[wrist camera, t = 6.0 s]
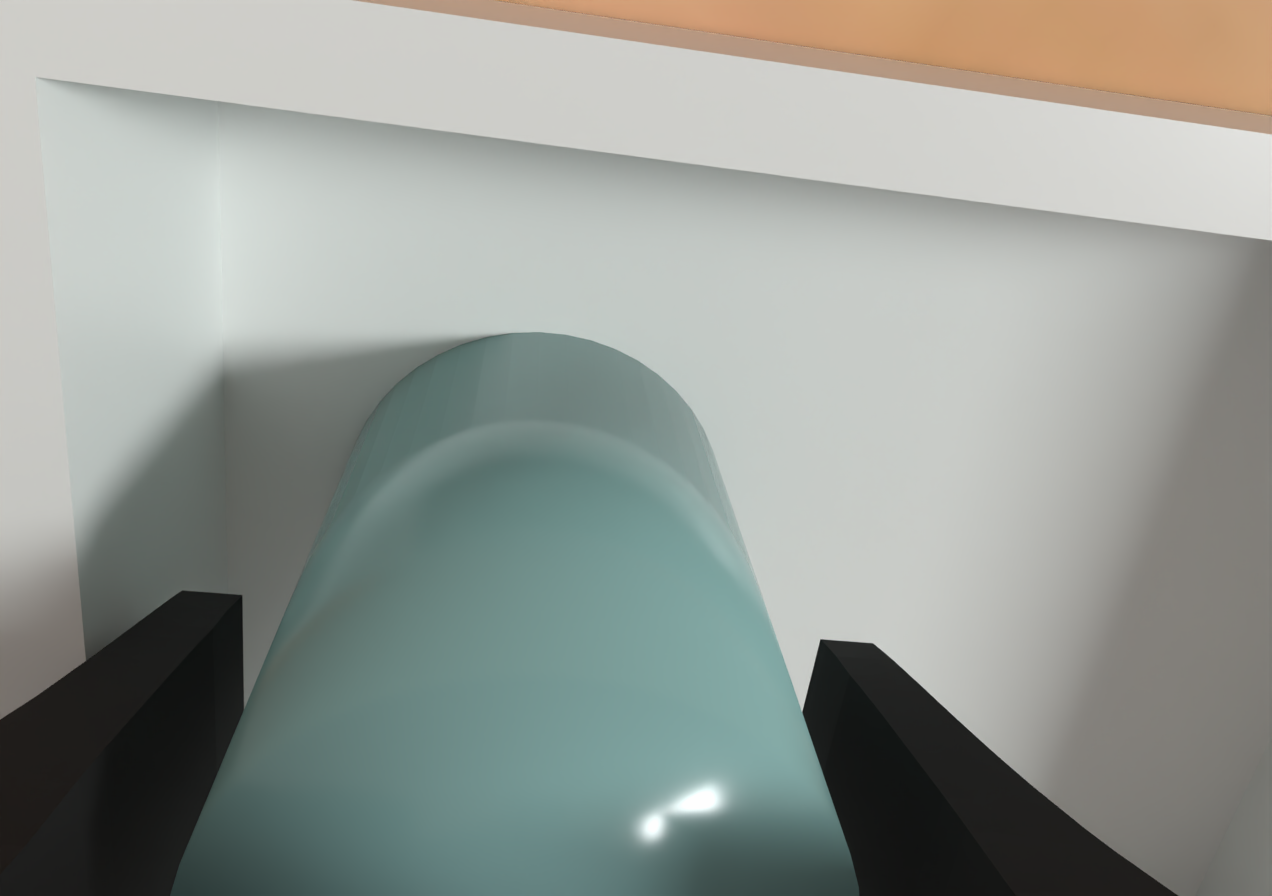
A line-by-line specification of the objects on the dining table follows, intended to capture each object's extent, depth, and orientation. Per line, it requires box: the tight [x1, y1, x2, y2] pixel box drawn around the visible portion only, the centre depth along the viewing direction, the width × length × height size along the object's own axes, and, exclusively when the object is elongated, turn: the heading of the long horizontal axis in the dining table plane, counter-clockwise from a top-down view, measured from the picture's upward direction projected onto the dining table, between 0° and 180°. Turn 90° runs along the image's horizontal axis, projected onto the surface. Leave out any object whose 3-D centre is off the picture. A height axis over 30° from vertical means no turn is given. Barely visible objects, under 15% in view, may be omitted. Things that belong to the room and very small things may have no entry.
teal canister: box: [170, 332, 859, 896], centre depth 11 cm, size 5×5×7 cm
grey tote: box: [0, 0, 1272, 896], centre depth 13 cm, size 14×18×5 cm
